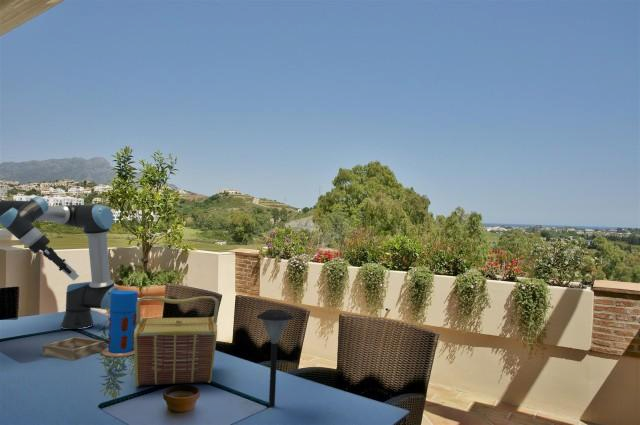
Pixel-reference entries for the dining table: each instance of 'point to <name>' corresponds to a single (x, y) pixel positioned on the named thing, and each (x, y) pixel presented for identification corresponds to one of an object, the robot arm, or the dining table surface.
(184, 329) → the picnic basket
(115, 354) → the saucer
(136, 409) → the dining table surface
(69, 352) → the square frame
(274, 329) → the solar garden light
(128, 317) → the thermos
